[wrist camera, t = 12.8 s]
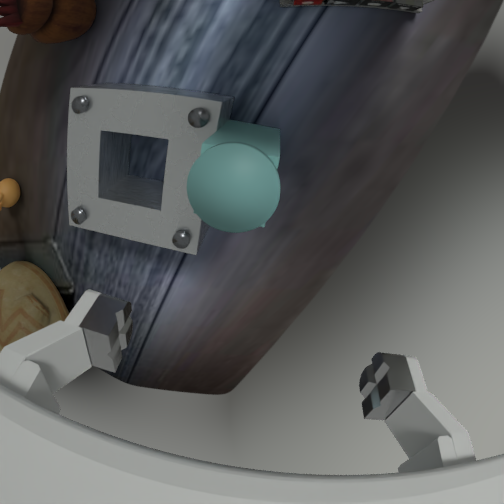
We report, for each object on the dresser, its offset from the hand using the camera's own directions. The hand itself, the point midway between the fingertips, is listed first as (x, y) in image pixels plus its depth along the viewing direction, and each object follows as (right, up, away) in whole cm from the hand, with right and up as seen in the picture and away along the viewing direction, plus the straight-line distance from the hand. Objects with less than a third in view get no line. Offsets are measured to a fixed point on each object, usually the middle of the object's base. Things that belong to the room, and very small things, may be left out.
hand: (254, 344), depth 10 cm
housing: (-10, +14, +22) cm, 28 cm away
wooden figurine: (-19, +29, +14) cm, 37 cm away
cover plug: (0, +13, +21) cm, 25 cm away
